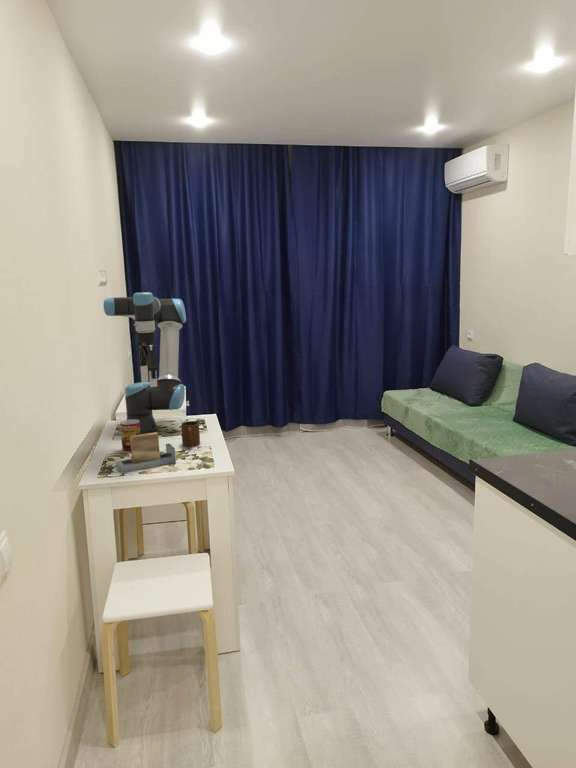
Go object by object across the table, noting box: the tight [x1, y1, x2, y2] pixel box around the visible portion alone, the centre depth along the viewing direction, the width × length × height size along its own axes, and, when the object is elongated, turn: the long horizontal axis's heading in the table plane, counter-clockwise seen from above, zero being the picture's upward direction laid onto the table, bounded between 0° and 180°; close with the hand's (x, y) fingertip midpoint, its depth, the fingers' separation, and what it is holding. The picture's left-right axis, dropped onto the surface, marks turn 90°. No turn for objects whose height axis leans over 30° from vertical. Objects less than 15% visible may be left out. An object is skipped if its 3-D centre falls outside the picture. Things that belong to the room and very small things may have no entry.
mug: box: [180, 420, 201, 447], centre depth 242 cm, size 12×8×9 cm, turn 7°
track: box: [115, 443, 177, 473], centre depth 219 cm, size 7×21×6 cm, turn 118°
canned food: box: [119, 419, 141, 453], centre depth 239 cm, size 8×8×12 cm
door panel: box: [130, 432, 161, 463], centre depth 218 cm, size 3×10×12 cm, turn 118°
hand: (149, 384), depth 230 cm, fingers open, 13 cm apart
